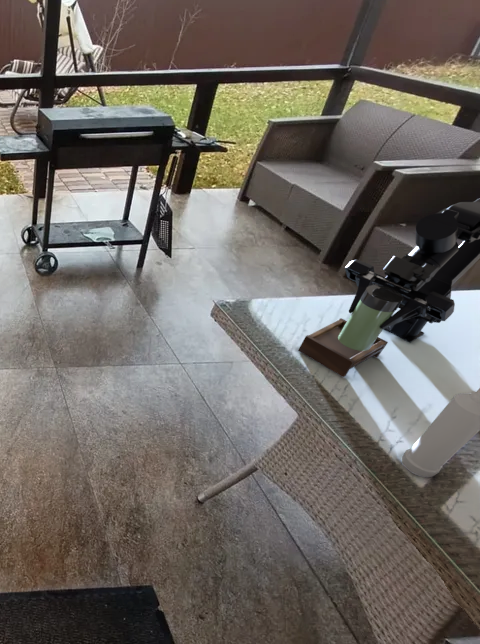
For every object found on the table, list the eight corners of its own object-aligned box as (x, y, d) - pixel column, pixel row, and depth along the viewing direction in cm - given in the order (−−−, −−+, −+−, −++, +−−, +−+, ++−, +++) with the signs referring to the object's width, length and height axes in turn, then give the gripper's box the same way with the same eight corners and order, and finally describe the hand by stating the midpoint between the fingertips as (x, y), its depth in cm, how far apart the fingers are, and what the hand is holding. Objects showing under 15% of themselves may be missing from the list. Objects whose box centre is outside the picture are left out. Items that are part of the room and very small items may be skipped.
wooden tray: (332, 332, 116) (341, 318, 114) (378, 356, 109) (388, 342, 106) (297, 350, 111) (305, 336, 108) (343, 377, 104) (352, 362, 101)
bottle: (392, 455, 87) (479, 356, 72) (418, 453, 88) (510, 353, 73) (415, 479, 83) (512, 379, 68) (443, 477, 84) (545, 377, 68)
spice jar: (355, 331, 106) (385, 283, 98) (378, 349, 101) (411, 300, 93) (330, 334, 105) (358, 286, 97) (352, 352, 100) (383, 303, 92)
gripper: (372, 224, 97) (315, 283, 100) (484, 265, 83) (415, 331, 86) (375, 248, 104) (322, 303, 107) (478, 289, 91) (415, 350, 94)
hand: (364, 320), depth 98 cm, fingers closed on spice jar, 6 cm apart
